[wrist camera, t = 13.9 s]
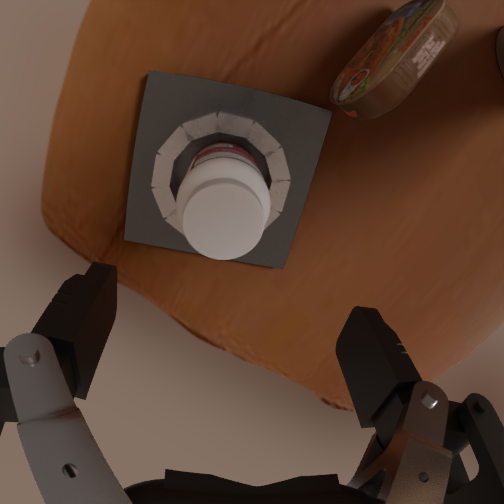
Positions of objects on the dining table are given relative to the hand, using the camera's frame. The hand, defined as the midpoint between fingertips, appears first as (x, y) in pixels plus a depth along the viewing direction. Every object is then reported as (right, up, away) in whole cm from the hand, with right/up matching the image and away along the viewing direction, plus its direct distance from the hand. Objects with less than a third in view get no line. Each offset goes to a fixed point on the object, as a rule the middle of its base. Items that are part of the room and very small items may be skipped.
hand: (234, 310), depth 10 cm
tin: (+12, +20, +14) cm, 27 cm away
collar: (-2, +9, +18) cm, 20 cm away
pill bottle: (-2, +9, +18) cm, 20 cm away
